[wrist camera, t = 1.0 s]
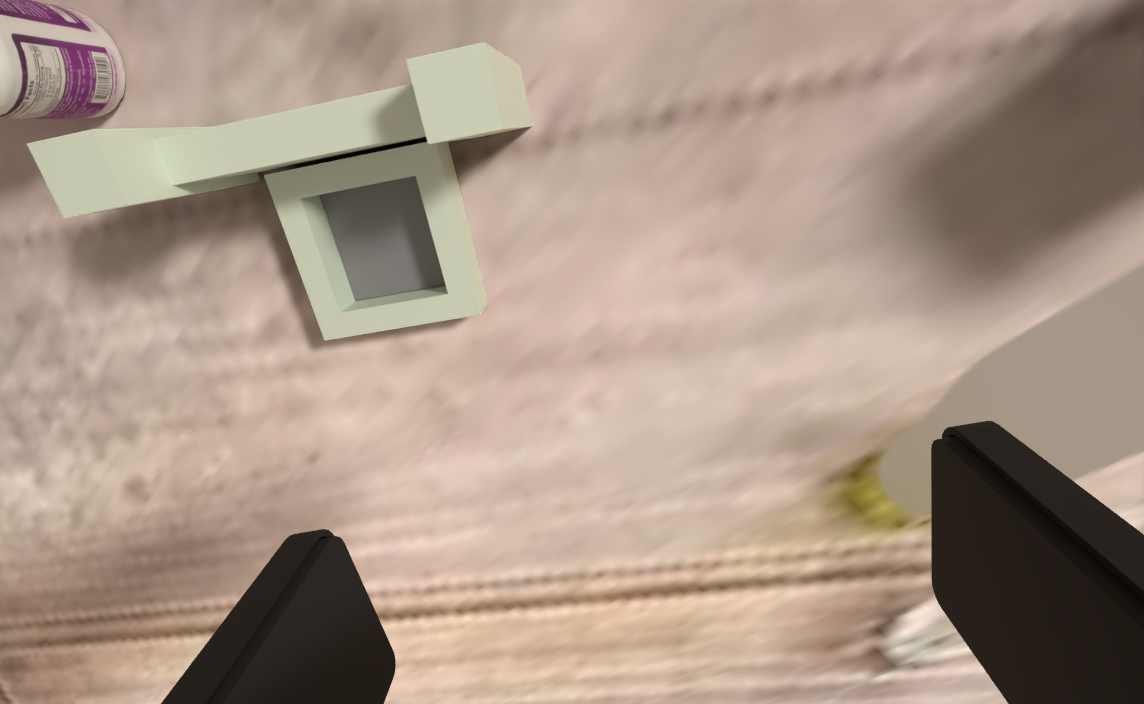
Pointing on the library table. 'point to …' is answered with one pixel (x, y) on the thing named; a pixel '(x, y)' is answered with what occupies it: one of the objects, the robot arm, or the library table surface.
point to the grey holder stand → (331, 185)
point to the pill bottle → (56, 63)
